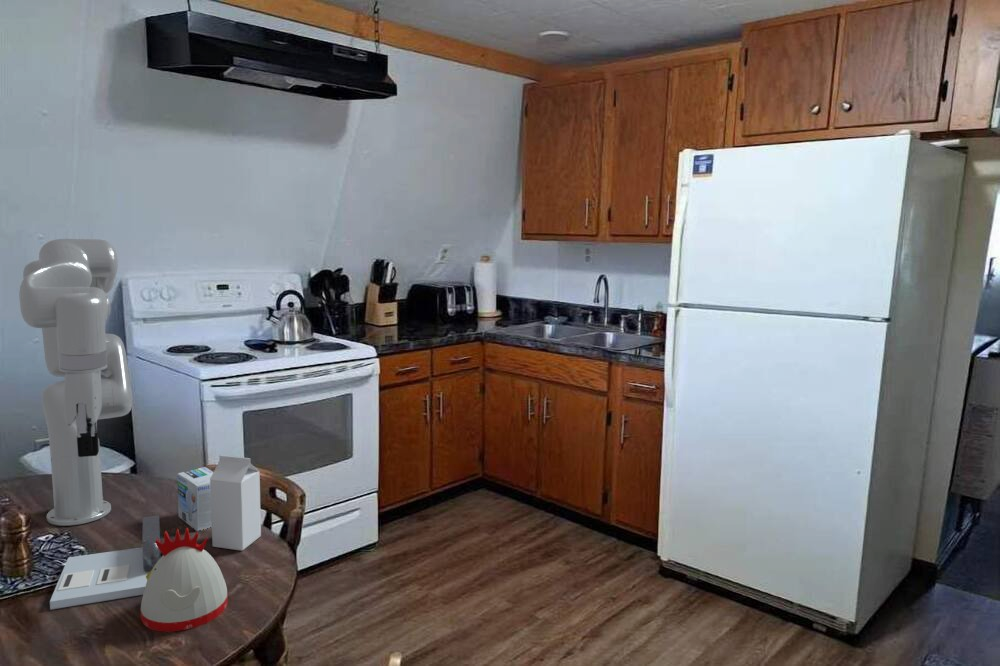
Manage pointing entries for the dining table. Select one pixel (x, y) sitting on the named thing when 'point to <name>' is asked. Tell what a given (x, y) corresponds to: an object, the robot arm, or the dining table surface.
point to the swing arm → (150, 542)
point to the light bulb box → (195, 498)
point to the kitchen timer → (183, 586)
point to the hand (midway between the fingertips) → (88, 454)
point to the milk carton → (235, 503)
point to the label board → (100, 578)
